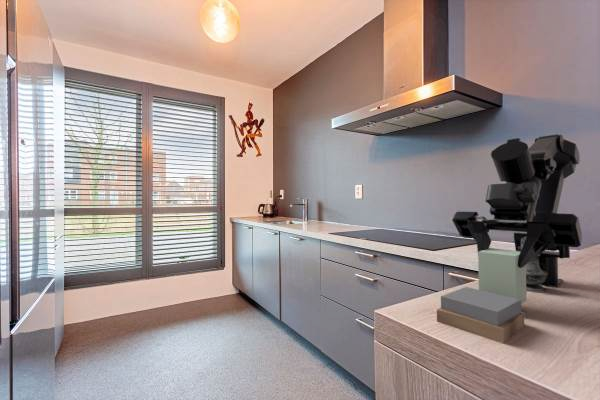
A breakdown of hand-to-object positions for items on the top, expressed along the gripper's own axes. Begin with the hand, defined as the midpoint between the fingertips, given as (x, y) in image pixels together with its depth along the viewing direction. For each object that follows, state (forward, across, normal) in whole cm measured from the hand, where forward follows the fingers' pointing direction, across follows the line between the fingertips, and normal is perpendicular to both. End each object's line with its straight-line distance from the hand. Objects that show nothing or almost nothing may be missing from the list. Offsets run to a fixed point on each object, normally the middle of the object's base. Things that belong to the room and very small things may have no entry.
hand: (498, 263), depth 50 cm
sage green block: (+4, 0, +6) cm, 7 cm away
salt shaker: (-7, 0, +19) cm, 20 cm away
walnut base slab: (+12, 0, 0) cm, 12 cm away
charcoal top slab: (+10, 0, -2) cm, 11 cm away
